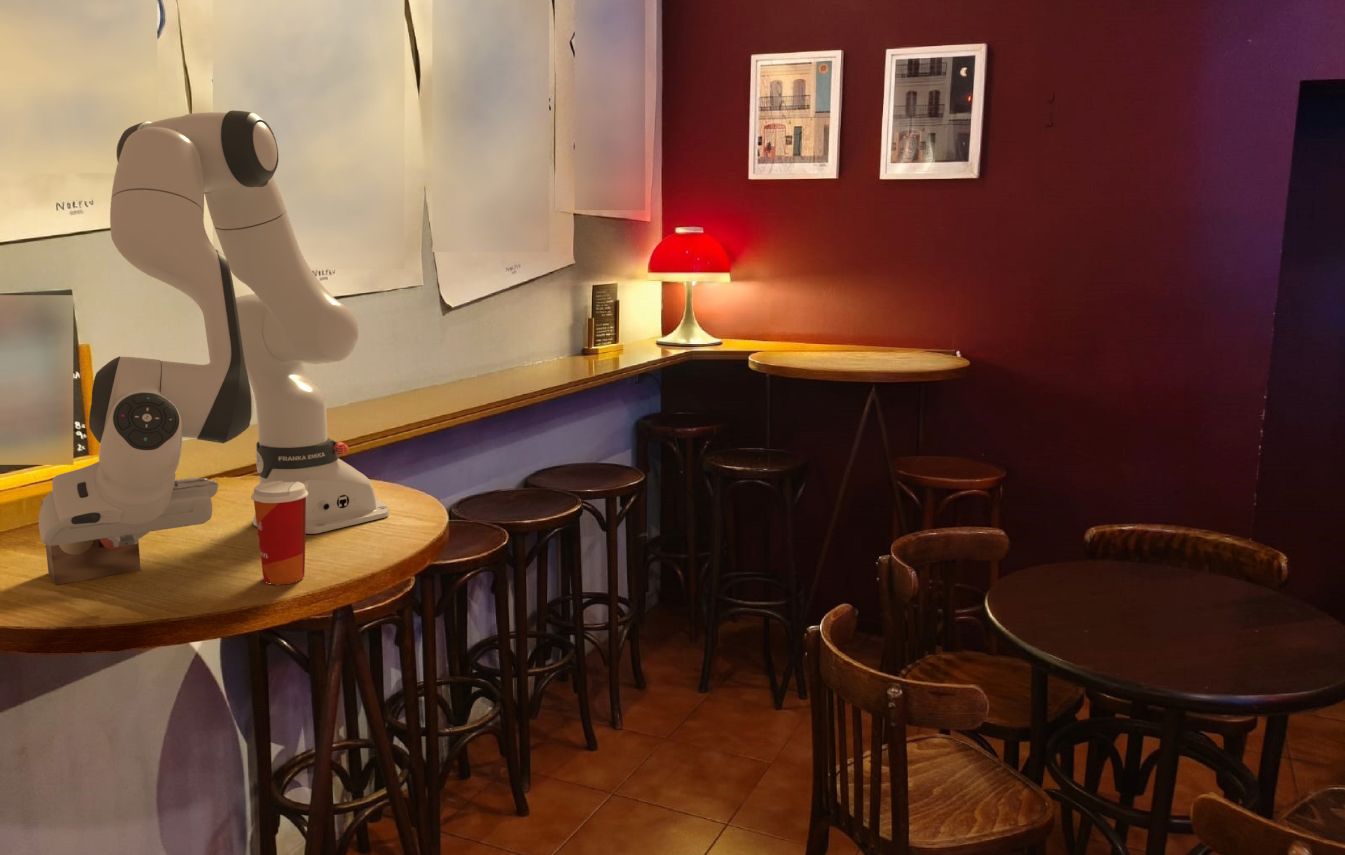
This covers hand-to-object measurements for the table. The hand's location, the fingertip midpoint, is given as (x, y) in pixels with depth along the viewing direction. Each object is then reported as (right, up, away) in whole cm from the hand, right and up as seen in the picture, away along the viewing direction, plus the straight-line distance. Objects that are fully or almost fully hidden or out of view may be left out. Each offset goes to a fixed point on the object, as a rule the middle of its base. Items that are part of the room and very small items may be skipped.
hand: (124, 541), depth 137 cm
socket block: (-10, -6, +10) cm, 15 cm away
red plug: (-8, -1, +11) cm, 13 cm away
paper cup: (+18, -7, +9) cm, 22 cm away
